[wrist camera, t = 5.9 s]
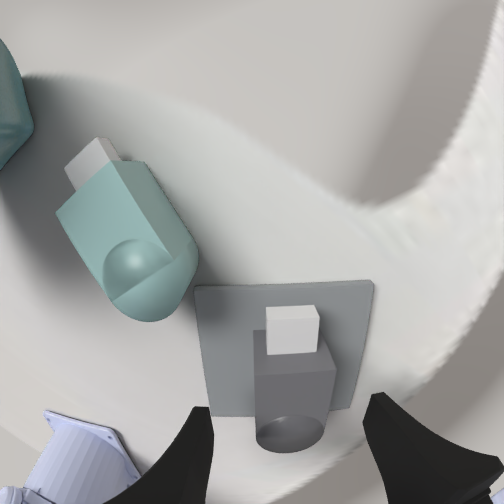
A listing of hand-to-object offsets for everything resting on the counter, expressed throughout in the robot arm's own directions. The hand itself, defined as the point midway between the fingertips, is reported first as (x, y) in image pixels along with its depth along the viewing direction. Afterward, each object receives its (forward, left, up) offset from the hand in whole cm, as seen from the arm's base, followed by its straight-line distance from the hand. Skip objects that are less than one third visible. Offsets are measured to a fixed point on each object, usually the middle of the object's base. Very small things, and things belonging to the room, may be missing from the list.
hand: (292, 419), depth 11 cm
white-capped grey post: (0, 0, -4) cm, 4 cm away
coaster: (0, 0, -5) cm, 5 cm away
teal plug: (+8, +7, -5) cm, 12 cm away
